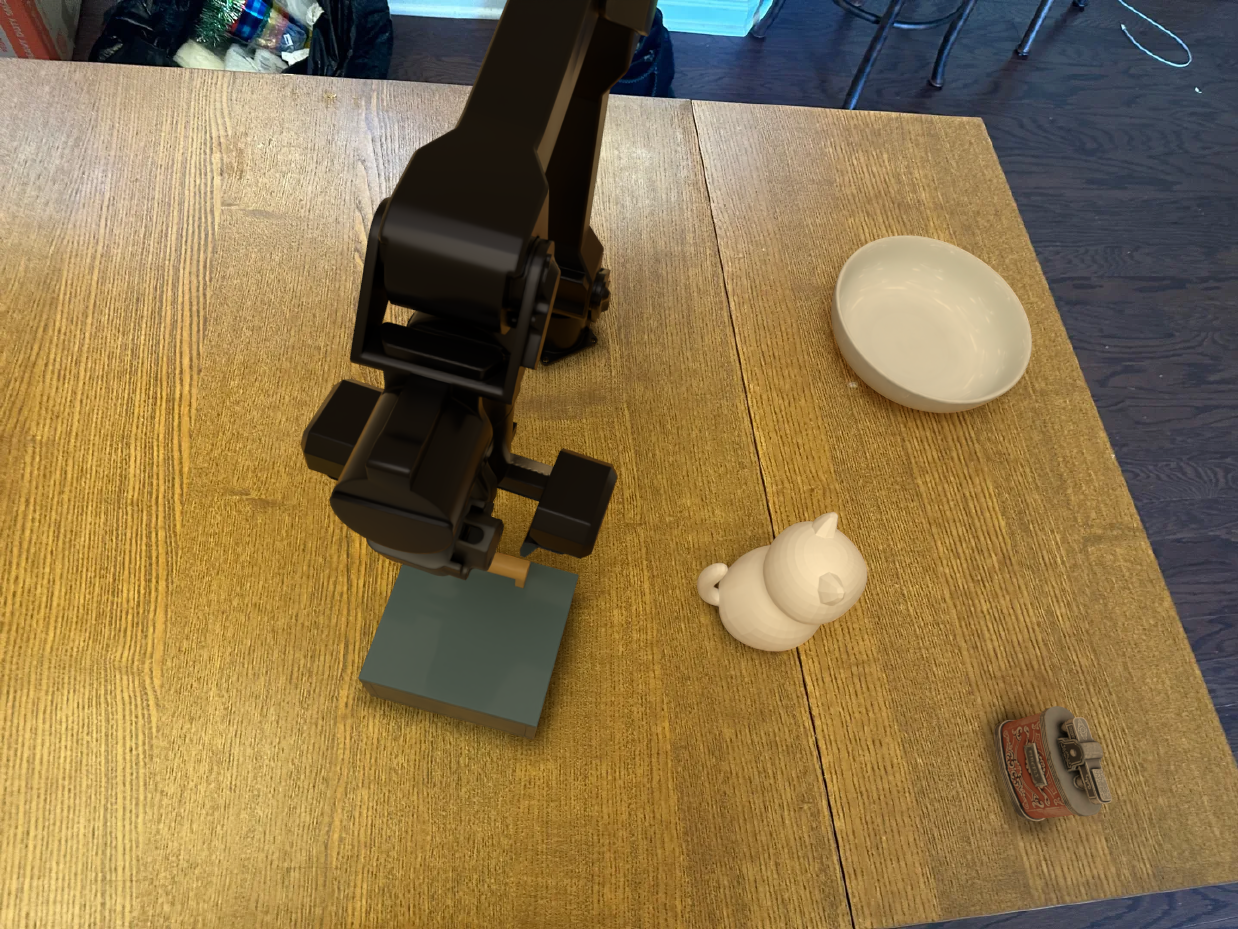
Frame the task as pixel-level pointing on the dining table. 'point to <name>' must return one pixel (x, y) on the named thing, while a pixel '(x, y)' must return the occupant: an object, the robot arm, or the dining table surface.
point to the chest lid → (474, 637)
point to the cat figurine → (787, 585)
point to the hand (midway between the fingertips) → (462, 531)
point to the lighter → (1051, 765)
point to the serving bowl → (929, 324)
